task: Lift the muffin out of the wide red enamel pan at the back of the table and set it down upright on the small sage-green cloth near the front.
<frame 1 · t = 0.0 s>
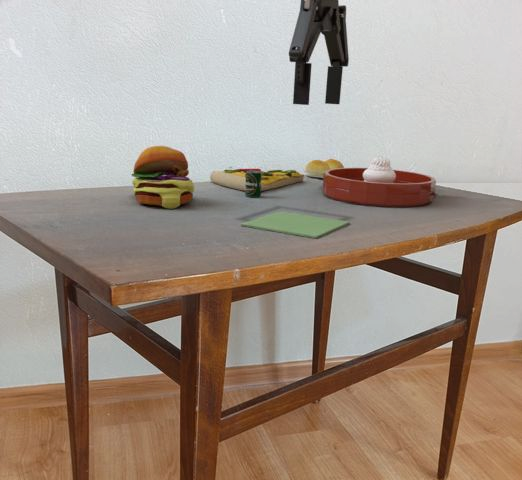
hand: (317, 104, 108), 16 cm above the table, tool pointing down, fingers open, 13 cm apart
bread roll: (325, 178, 133), on the table
cloth: (296, 224, 87), on the table
pizza slice: (266, 185, 121), on the table
muffin: (376, 195, 112), resting on pan
beer can: (252, 197, 108), on the table
pan: (376, 196, 113), on the table
cheeseburger: (162, 204, 98), on the table
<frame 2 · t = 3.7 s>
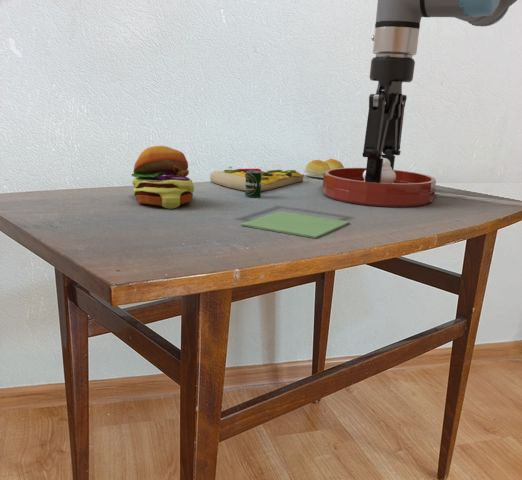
hand: (377, 192, 112), 1 cm above the table, tool pointing down, fingers closed on muffin, 6 cm apart
muffin: (376, 195, 112), resting on pan, touching gripper
everything else where it was.
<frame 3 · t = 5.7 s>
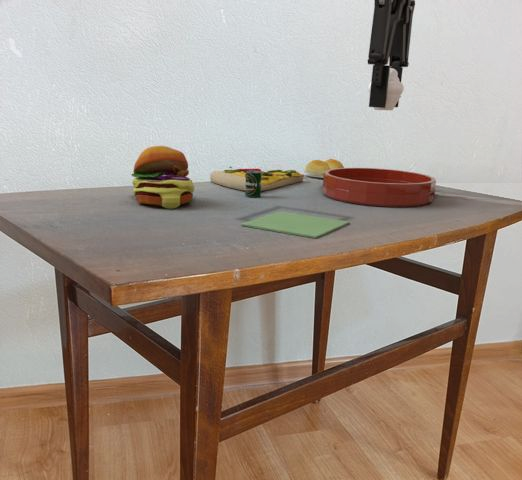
hand: (383, 106, 104), 16 cm above the table, tool pointing down, fingers closed on muffin, 6 cm apart
muffin: (383, 111, 105), point 15 cm above the table, touching gripper
everything else where it was.
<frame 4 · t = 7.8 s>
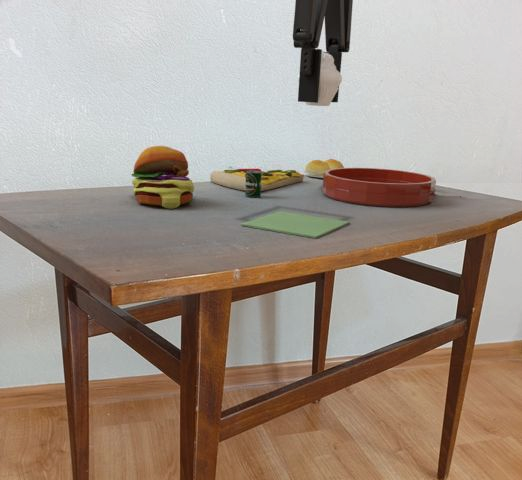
hand: (318, 101, 84), 17 cm above the table, tool pointing down, fingers closed on muffin, 6 cm apart
muffin: (317, 106, 84), point 16 cm above the table, touching gripper
everything else where it was.
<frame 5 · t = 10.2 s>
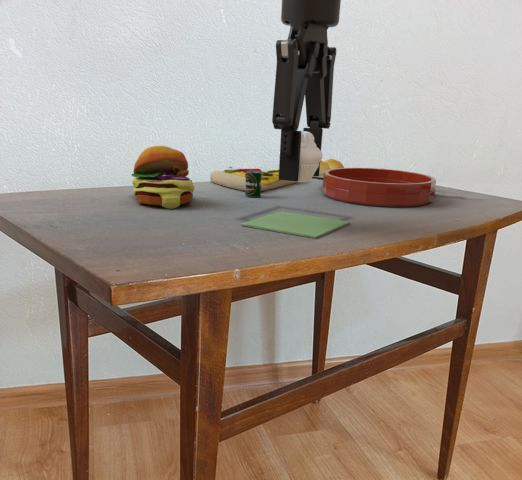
hand: (299, 177, 85), 7 cm above the table, tool pointing down, fingers closed on muffin, 6 cm apart
muffin: (298, 182, 85), point 6 cm above the table, touching gripper
everything else where it was.
when the fingers open (1 cm above the table, at t = 12.0 s): muffin stays where it is, resting on cloth.
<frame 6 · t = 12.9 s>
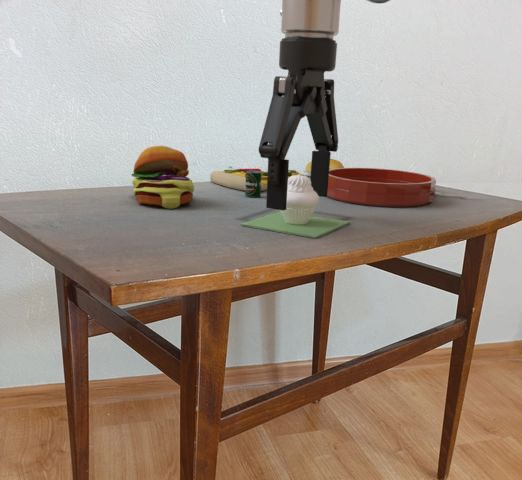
hand: (298, 202, 86), 3 cm above the table, tool pointing down, fingers open, 13 cm apart
muffin: (296, 223, 87), resting on cloth
everything else where it was.
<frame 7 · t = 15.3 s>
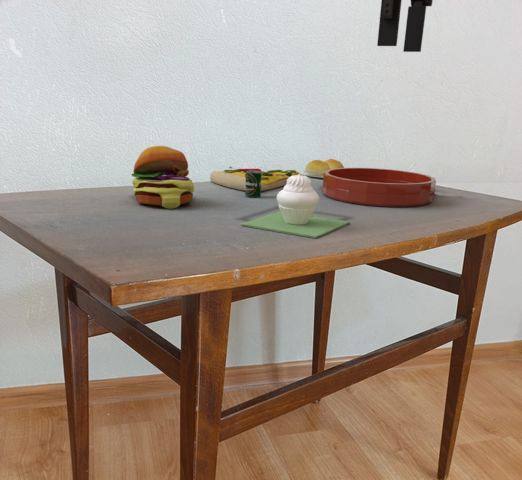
hand: (400, 49, 92), 25 cm above the table, tool pointing down, fingers open, 13 cm apart
nothing on the table moved.
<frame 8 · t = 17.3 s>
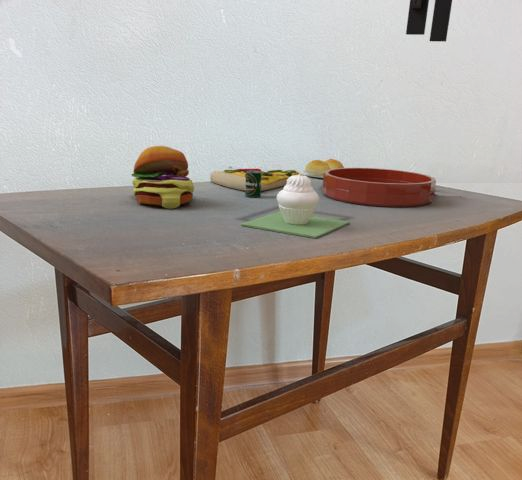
hand: (426, 38, 97), 27 cm above the table, tool pointing down, fingers open, 13 cm apart
nothing on the table moved.
at the end: muffin inside the target area on the cloth (0.0 cm from its centre), point 0.1 cm above the cloth's base; muffin tilted 0°; the gripper is holding nothing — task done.
